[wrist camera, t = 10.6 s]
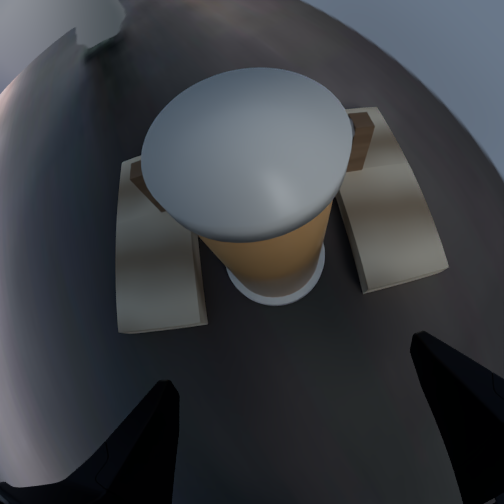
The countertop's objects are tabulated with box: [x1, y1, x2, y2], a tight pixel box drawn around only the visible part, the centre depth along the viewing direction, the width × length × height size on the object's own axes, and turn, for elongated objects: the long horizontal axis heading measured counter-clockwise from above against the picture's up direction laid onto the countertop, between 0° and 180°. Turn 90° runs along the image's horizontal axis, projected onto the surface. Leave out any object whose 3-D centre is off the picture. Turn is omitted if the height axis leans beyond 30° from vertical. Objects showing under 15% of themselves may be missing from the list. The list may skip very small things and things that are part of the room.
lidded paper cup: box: [141, 68, 352, 306], centre depth 12 cm, size 6×6×12 cm
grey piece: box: [116, 107, 449, 334], centre depth 16 cm, size 14×22×6 cm, turn 99°
